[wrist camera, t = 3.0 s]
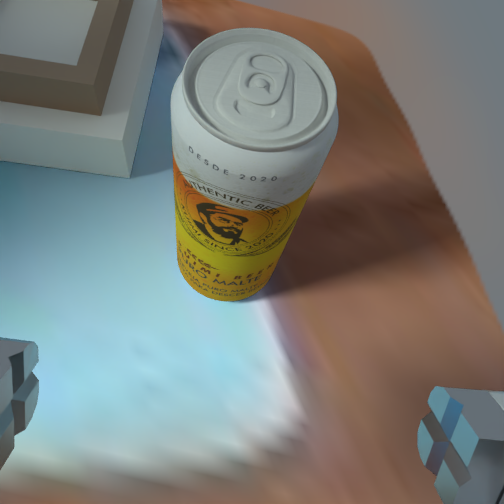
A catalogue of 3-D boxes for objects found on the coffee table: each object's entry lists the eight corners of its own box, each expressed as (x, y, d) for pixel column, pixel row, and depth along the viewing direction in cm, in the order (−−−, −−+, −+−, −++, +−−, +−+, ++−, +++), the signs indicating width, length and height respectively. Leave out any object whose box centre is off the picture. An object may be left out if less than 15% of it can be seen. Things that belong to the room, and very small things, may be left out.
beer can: (165, 292, 27) (144, 129, 14) (192, 207, 30) (196, 2, 16) (262, 316, 28) (336, 178, 14) (280, 230, 30) (357, 44, 17)
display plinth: (-91, 147, 29) (-161, 69, 23) (-19, 1, 35) (-60, -90, 29) (129, 178, 30) (115, 111, 24) (163, 32, 36) (159, -51, 30)
